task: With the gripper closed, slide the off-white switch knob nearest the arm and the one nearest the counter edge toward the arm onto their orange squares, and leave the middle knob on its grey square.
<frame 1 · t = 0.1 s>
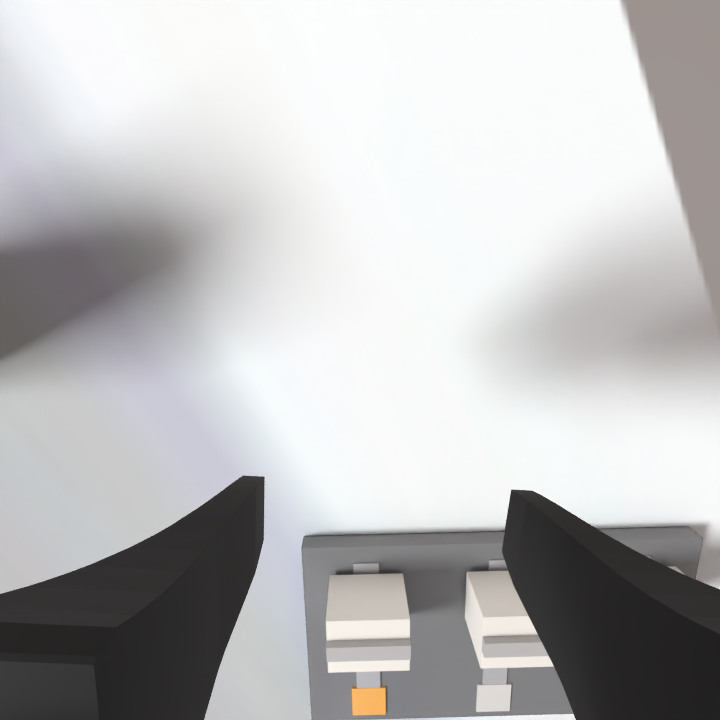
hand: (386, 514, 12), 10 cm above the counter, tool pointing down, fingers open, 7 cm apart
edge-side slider: (658, 615, 21), point 3 cm above the counter, slide at 0.0 cm
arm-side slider: (367, 623, 21), point 3 cm above the counter, slide at 0.0 cm
switch panel: (491, 619, 25), on the counter
middle slider: (513, 619, 21), point 3 cm above the counter, slide at 0.0 cm
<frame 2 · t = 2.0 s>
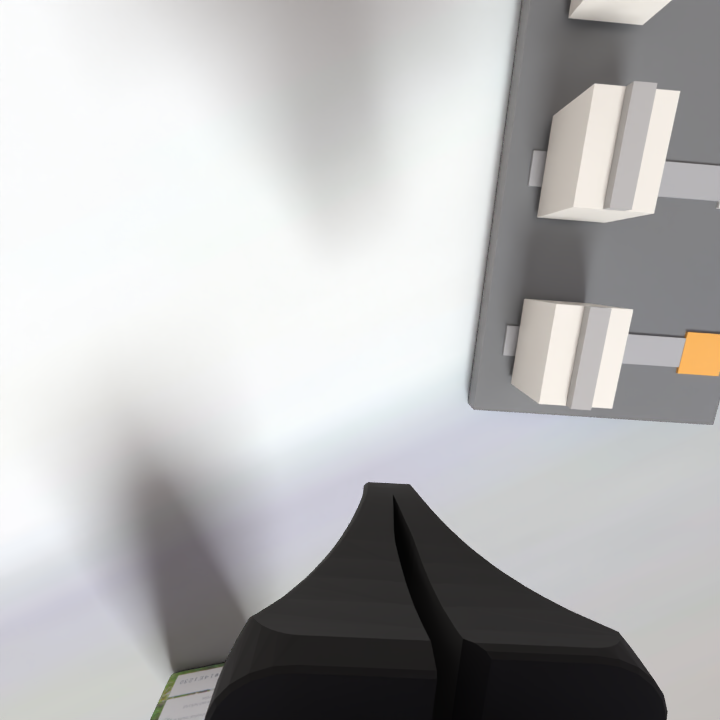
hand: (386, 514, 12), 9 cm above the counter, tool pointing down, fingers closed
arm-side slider: (568, 351, 17), point 3 cm above the counter, slide at 0.0 cm
switch panel: (628, 182, 19), on the counter
middle slider: (603, 160, 16), point 3 cm above the counter, slide at 0.0 cm
syrup box: (231, 693, 25), on the counter
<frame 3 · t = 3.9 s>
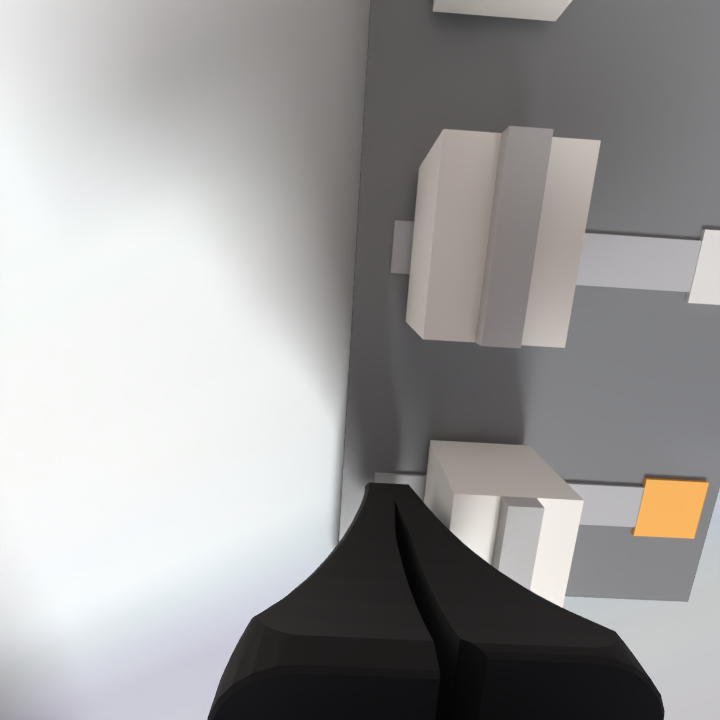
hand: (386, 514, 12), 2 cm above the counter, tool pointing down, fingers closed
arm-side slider: (489, 537, 11), point 3 cm above the counter, slide at 1.1 cm, touching gripper
switch panel: (553, 259, 12), on the counter
middle slider: (487, 248, 9), point 3 cm above the counter, slide at 0.0 cm
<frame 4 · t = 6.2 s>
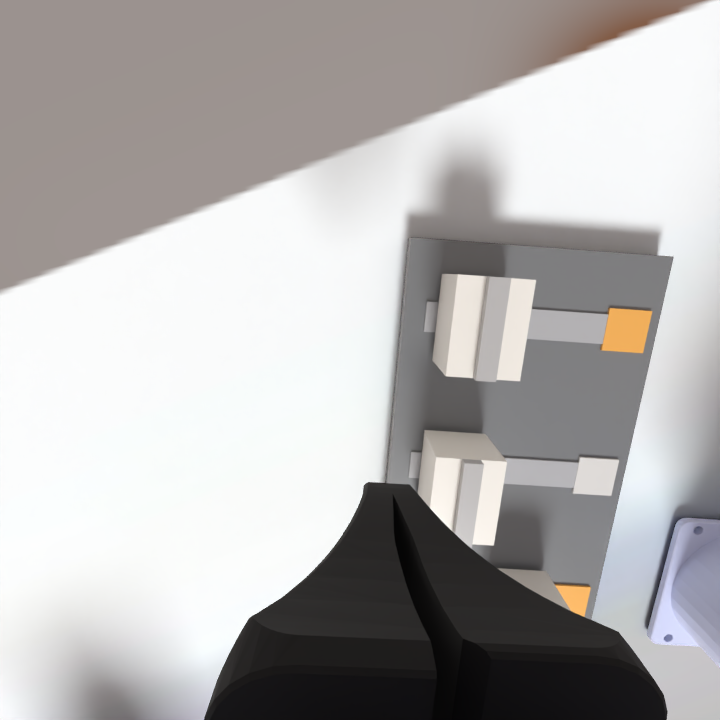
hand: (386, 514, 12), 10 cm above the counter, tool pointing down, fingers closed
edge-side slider: (480, 325, 17), point 3 cm above the counter, slide at 0.0 cm
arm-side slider: (525, 628, 20), point 3 cm above the counter, slide at 4.3 cm
switch panel: (500, 461, 22), on the counter
middle slider: (458, 486, 19), point 3 cm above the counter, slide at 0.0 cm
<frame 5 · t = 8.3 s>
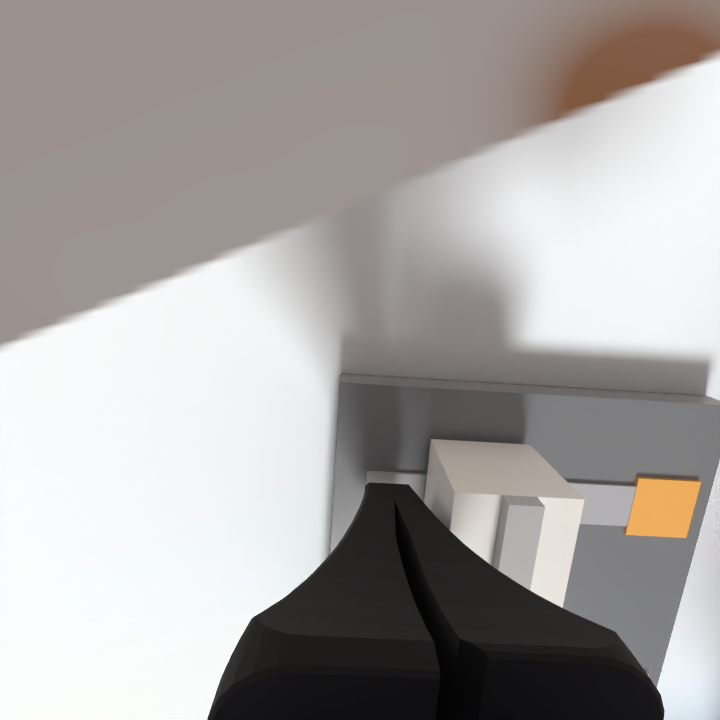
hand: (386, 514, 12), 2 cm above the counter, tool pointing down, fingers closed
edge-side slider: (489, 536, 11), point 3 cm above the counter, slide at 1.3 cm, touching gripper
switch panel: (481, 661, 16), on the counter
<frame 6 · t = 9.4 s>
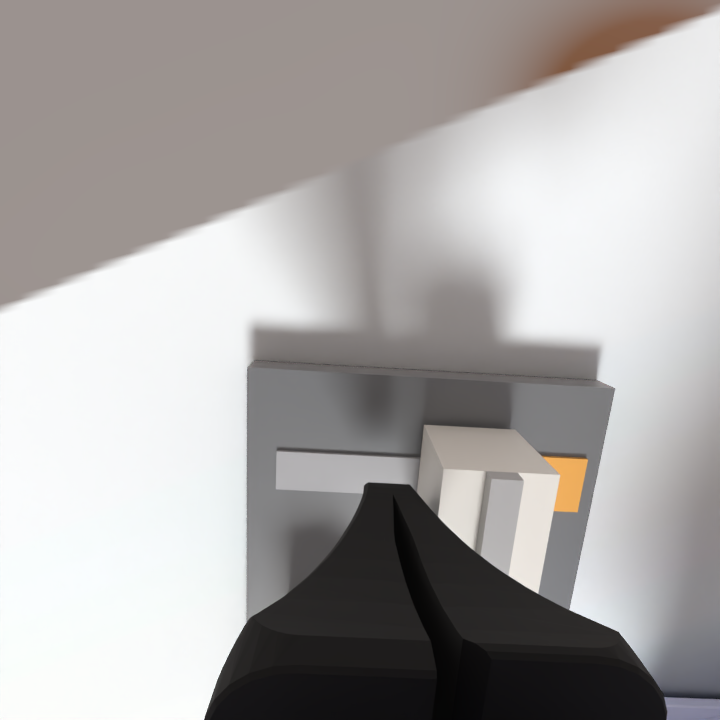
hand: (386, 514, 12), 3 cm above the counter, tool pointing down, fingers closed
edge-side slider: (477, 512, 12), point 3 cm above the counter, slide at 4.3 cm
switch panel: (401, 632, 17), on the counter
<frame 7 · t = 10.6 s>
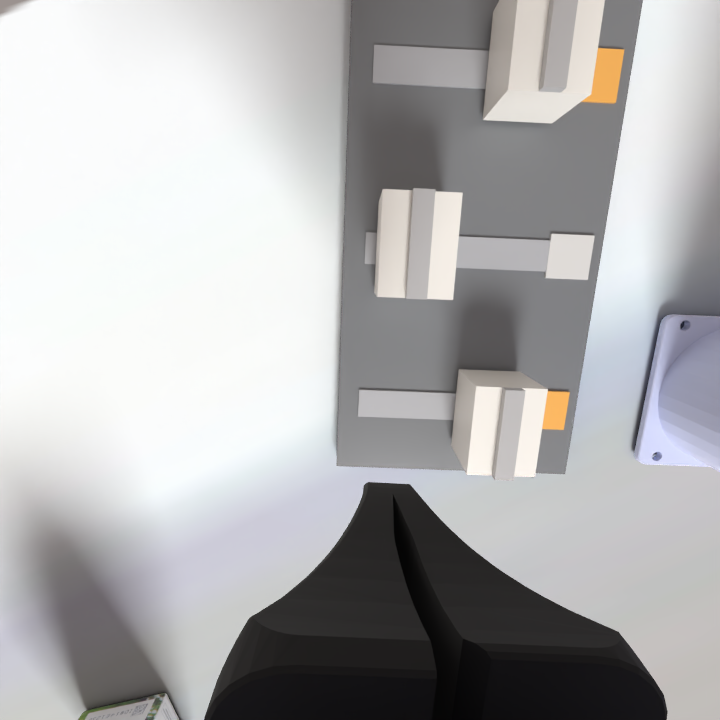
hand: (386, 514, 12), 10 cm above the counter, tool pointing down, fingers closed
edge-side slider: (541, 47, 15), point 3 cm above the counter, slide at 4.3 cm
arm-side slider: (496, 421, 19), point 3 cm above the counter, slide at 4.3 cm
switch panel: (467, 253, 20), on the counter
middle slider: (414, 247, 17), point 3 cm above the counter, slide at 0.0 cm
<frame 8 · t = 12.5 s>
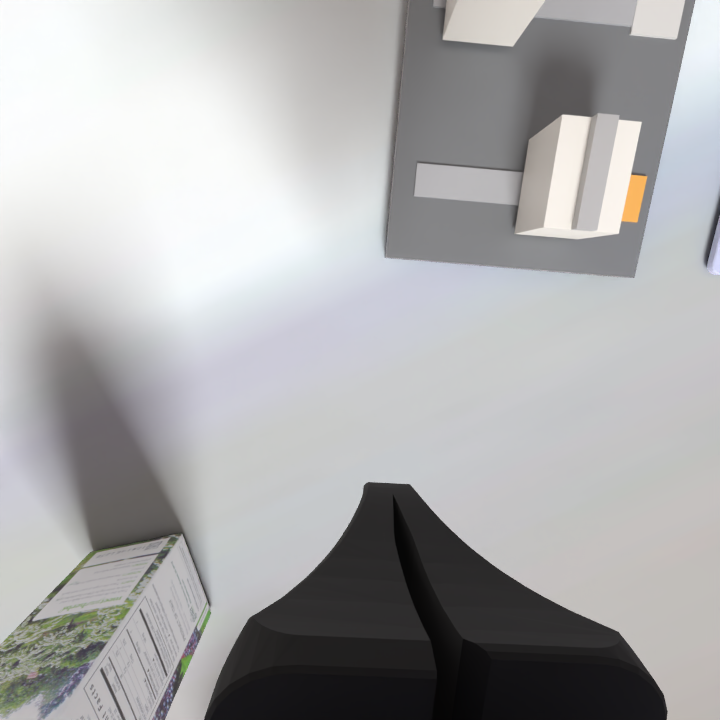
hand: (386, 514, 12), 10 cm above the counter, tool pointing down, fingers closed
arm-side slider: (573, 182, 17), point 3 cm above the counter, slide at 4.3 cm
switch panel: (542, 14, 18), on the counter
syrup box: (154, 576, 24), on the counter
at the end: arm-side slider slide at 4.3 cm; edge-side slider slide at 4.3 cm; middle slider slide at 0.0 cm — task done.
